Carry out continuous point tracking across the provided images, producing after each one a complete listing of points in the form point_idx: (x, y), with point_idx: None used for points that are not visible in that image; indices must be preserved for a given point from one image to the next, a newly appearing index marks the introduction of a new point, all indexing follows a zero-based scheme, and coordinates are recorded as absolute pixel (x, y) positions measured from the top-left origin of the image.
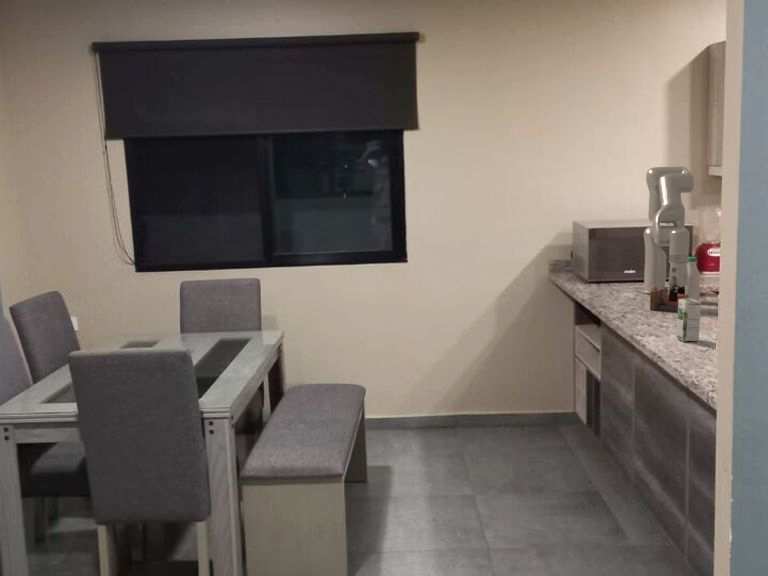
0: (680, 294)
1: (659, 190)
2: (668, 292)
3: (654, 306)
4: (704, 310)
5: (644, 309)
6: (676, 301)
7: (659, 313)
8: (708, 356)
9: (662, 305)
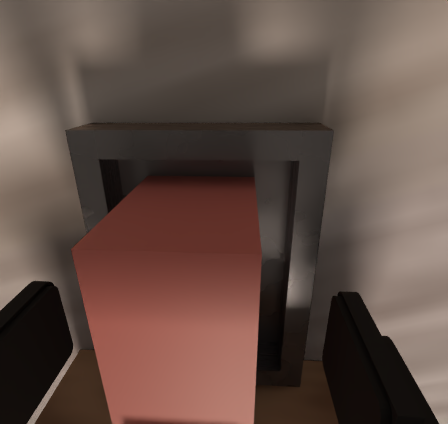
0: (135, 345)
1: None
2: None
3: None
4: (70, 5)
5: None
6: (356, 293)
7: (438, 317)
8: None
9: (294, 364)
